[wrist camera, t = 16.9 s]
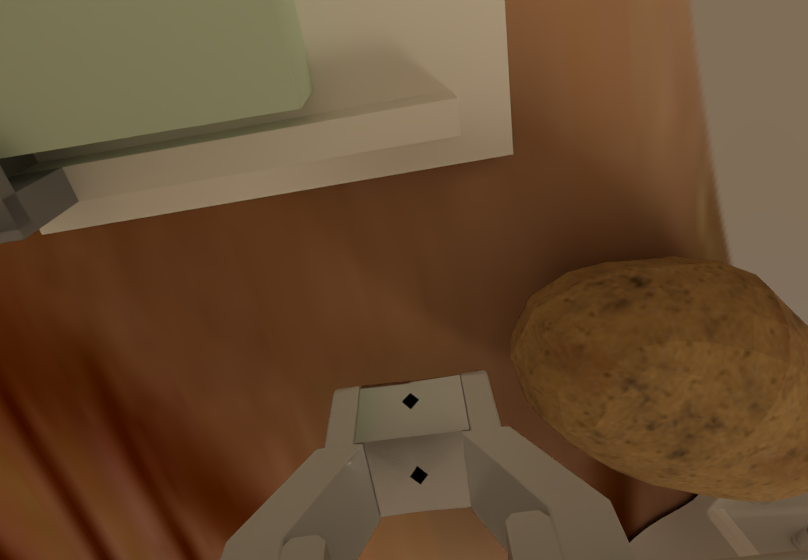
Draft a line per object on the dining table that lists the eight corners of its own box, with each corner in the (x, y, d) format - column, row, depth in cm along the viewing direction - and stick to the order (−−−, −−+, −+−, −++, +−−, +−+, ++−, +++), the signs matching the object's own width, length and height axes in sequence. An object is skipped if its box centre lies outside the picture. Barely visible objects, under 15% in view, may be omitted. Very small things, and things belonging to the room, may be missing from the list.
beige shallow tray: (479, -285, 14) (536, -439, 9) (506, 145, 20) (550, 197, 15) (-143, -160, 15) (-412, -241, 10) (59, 222, 21) (-44, 296, 16)
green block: (274, -89, 15) (248, -111, 12) (313, 89, 18) (300, 108, 14) (-54, -31, 15) (-161, -38, 12) (29, 136, 18) (-43, 165, 15)
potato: (560, 160, 20) (656, 245, 13) (807, 289, 24) (985, 410, 17) (442, 343, 24) (470, 482, 17) (669, 430, 28) (767, 575, 21)
